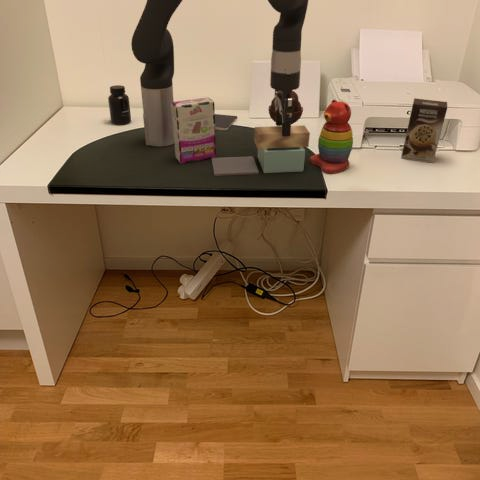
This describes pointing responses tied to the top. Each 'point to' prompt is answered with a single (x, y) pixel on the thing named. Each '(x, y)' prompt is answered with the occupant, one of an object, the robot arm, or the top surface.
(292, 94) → the ice cream bowl
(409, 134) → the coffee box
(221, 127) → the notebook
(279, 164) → the dish
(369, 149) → the top surface
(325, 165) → the stacking bear
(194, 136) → the candy bar box
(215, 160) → the mat
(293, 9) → the robot arm
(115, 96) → the supplement bottle
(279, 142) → the wooden block
